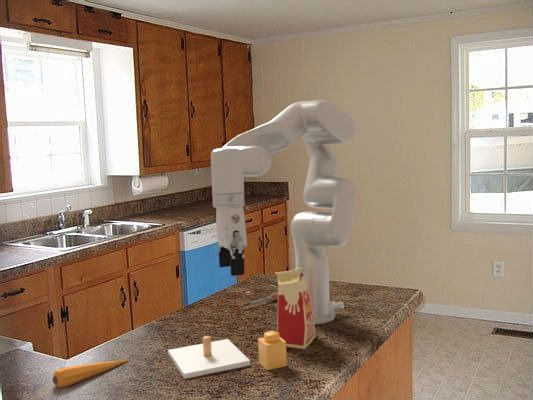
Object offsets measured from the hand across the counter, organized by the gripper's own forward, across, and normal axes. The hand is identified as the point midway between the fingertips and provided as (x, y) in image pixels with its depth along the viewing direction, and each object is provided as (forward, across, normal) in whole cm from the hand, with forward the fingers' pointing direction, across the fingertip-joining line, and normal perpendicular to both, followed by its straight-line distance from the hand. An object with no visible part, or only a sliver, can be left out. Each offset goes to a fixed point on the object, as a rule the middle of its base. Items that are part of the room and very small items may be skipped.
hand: (231, 270), depth 136 cm
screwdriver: (+22, +40, -25) cm, 52 cm away
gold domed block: (+22, -7, -7) cm, 24 cm away
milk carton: (+22, +4, -18) cm, 29 cm away
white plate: (+22, +2, +6) cm, 23 cm away
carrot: (+23, +6, +33) cm, 40 cm away
